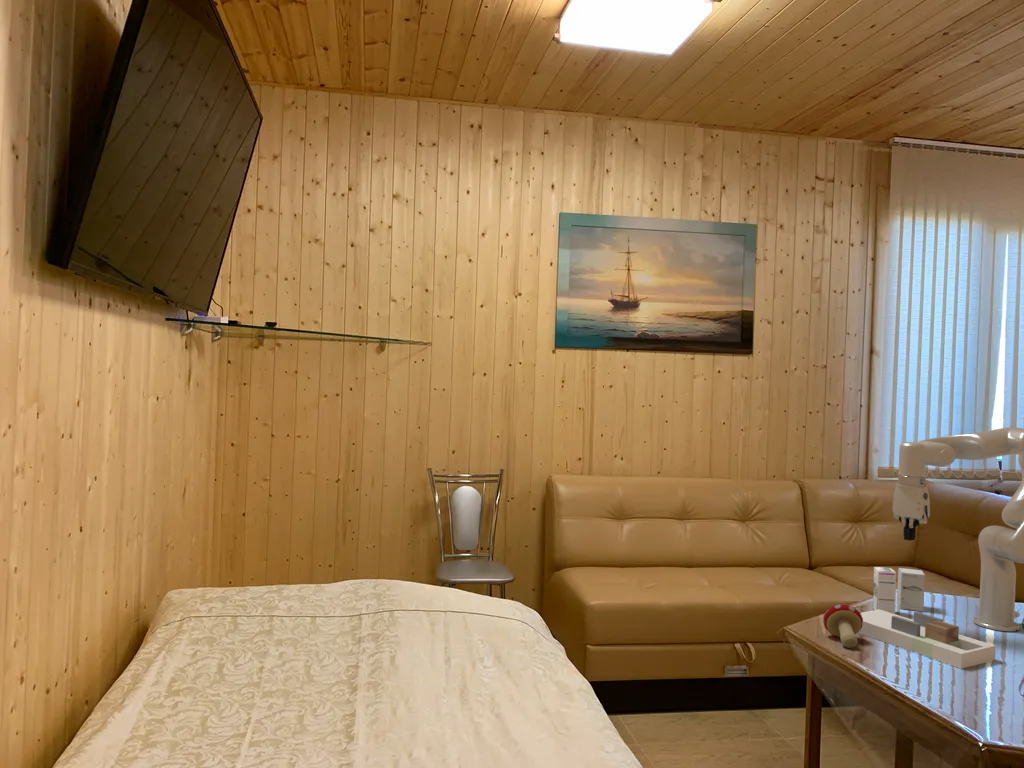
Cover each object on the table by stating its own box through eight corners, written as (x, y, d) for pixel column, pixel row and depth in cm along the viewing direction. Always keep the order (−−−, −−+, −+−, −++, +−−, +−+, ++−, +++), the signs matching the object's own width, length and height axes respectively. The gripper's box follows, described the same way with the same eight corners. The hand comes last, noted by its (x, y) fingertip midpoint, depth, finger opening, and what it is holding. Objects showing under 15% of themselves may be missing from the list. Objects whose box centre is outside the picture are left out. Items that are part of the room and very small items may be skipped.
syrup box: (895, 615, 253) (897, 571, 253) (876, 614, 254) (878, 570, 254) (890, 610, 259) (892, 567, 259) (871, 609, 260) (873, 566, 260)
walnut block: (937, 634, 223) (938, 620, 223) (958, 640, 218) (958, 626, 218) (924, 636, 220) (925, 622, 220) (945, 643, 215) (945, 629, 215)
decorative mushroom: (859, 623, 216) (848, 590, 230) (822, 638, 220) (813, 605, 234) (879, 652, 218) (866, 618, 232) (841, 666, 222) (831, 632, 236)
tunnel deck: (878, 621, 246) (879, 598, 246) (995, 660, 215) (996, 633, 215) (845, 628, 238) (846, 604, 238) (960, 668, 207) (962, 641, 207)
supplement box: (899, 609, 261) (900, 571, 261) (896, 603, 268) (898, 567, 268) (923, 612, 259) (925, 574, 259) (920, 606, 266) (921, 569, 266)
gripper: (941, 484, 238) (939, 543, 238) (897, 478, 251) (895, 534, 251) (926, 485, 234) (924, 545, 235) (882, 478, 248) (880, 535, 248)
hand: (909, 539), depth 243 cm, fingers closed
